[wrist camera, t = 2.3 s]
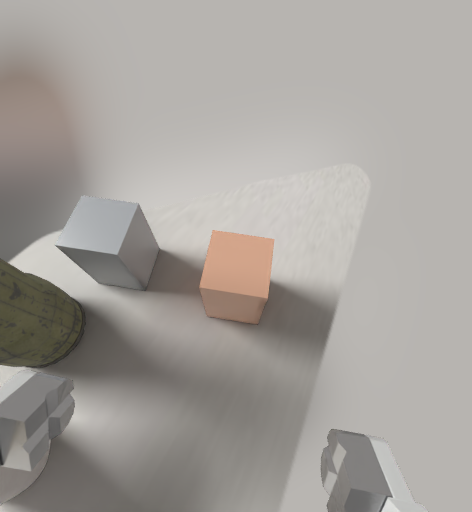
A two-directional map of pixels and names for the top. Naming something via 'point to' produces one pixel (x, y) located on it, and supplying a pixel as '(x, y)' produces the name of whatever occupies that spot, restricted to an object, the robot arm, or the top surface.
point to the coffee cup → (18, 479)
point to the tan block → (236, 276)
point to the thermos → (36, 320)
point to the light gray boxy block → (110, 242)
